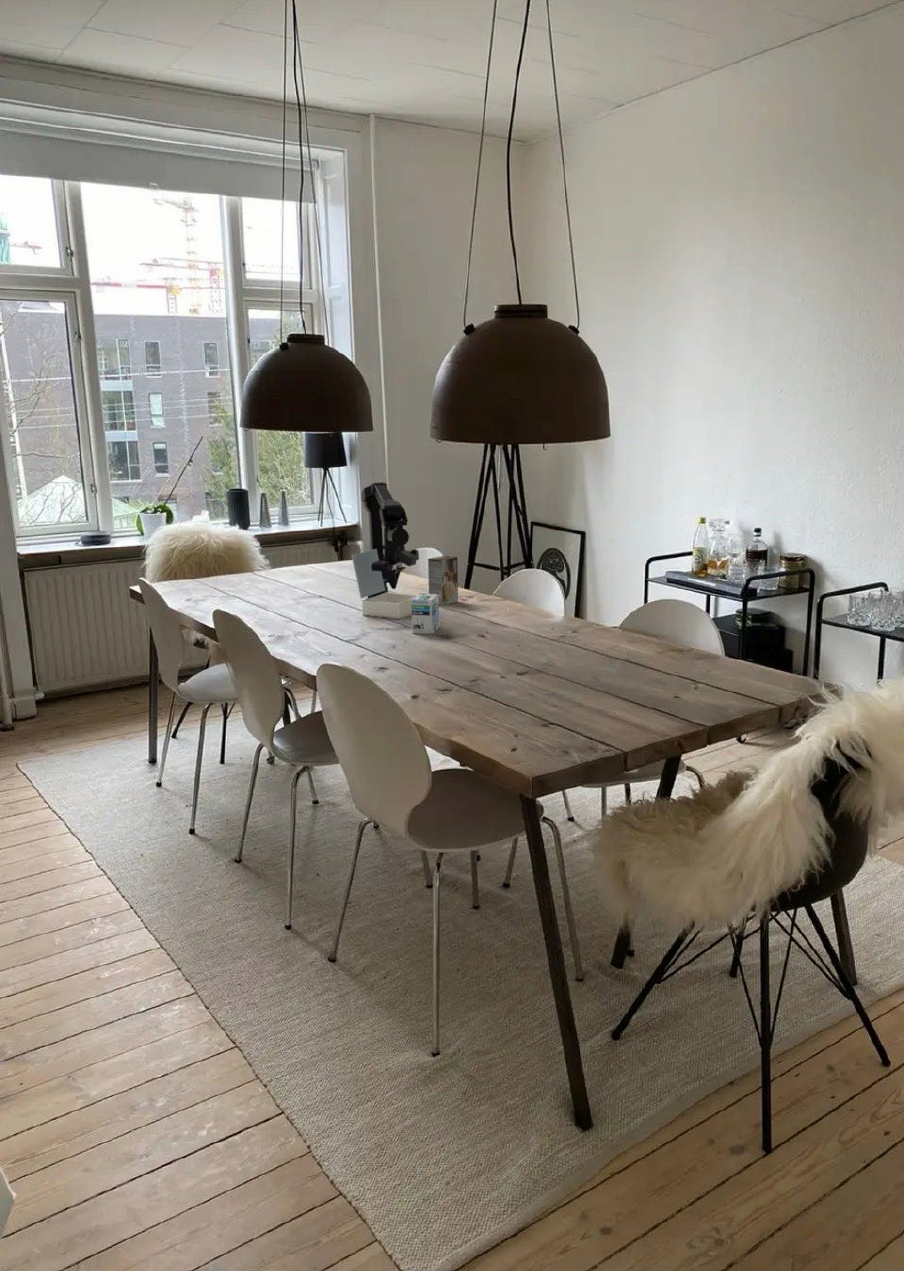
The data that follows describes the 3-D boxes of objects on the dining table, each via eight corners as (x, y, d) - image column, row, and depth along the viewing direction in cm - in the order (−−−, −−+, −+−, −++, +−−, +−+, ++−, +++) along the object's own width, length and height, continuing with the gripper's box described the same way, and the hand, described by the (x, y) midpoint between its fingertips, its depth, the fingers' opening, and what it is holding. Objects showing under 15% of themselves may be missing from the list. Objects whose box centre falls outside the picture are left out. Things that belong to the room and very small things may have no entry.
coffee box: (444, 599, 353) (443, 555, 349) (458, 601, 349) (458, 556, 345) (428, 603, 346) (427, 558, 342) (442, 606, 342) (442, 560, 338)
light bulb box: (432, 634, 301) (432, 600, 298) (411, 633, 302) (410, 599, 299) (440, 626, 311) (439, 593, 308) (419, 626, 312) (418, 592, 310)
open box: (362, 615, 327) (362, 600, 326) (386, 606, 341) (386, 592, 340) (399, 619, 321) (399, 604, 320) (422, 609, 335) (422, 595, 334)
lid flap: (362, 598, 327) (360, 598, 327) (385, 590, 340) (383, 590, 340) (353, 555, 325) (351, 555, 325) (376, 548, 338) (375, 549, 338)
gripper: (399, 547, 314) (400, 595, 317) (427, 540, 330) (428, 586, 333) (369, 545, 319) (371, 592, 322) (398, 538, 335) (399, 583, 338)
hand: (393, 588), depth 329 cm, fingers closed
